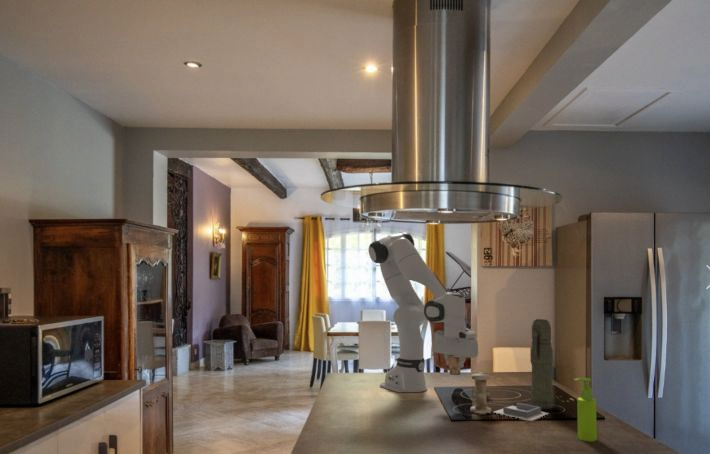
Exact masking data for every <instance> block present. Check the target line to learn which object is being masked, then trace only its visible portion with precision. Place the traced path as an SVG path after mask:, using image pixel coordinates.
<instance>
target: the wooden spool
mask: <svg viewBox="0 0 710 454" xmlns="http://www.w3.org/2000/svg"><path fill="white" fill-rule="evenodd" d="M471 379H472V380H474V405H473V406H470V409H469V410H470V412H471V413H472V412H474V413H473V414H476V413H479V414H478V415H487V414H486V413H489V414H491V413H492V408H491V407H489V406H487V396H486V390H487V381H488V380H490V379H491V377H490V375H489V374H487V373H485V374H477V373H472V374H471Z"/></svg>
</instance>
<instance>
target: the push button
mask: <svg viewBox="0 0 710 454" xmlns="http://www.w3.org/2000/svg"><path fill="white" fill-rule="evenodd" d="M476 374H486V372H483V371H476ZM489 394H491V393H490V392H488V390H487V389H486V397H487V396H488V397H489V396H491V395H489Z"/></svg>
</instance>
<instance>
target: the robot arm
mask: <svg viewBox="0 0 710 454" xmlns="http://www.w3.org/2000/svg"><path fill="white" fill-rule="evenodd" d="M368 255H369V258H370V259H371V261H372V262H373V263H375V264H379V267H380V268H379V269H380V272H381V275H382V279H383V280H384V283H385V286H386V288H387V290H388V293H389V296H390V297H391V299H392V300H394V302H395V304H396V305H397V306H398V308H396V310H395V311H394V313H393V322H394V324H395V325H396V330H397V335H398V343H399V356H398V358H394V361H395V362H396V364H395V365H394V367H392V368H391V369H390V370H388V371H387V372H386V373H385V378H384V382H382V383H380V384H379V387H381V388H383V389H387V390H389V391H393V392H396V393H420V392H425V391H427V390H428V387H427V383H426V377H425V365H426V364H425V357H424V351H425V350H424V349H425V348H424V344H425V343H424V339H423V337H422V333H421V328H420V326H422V325H424V324H425V323H426V321H428V322H430V323H443V330H439V329H438V330H436V331H434V334H433V336H434V337H433V342H432V343H433V344H432V350H433V352H434V353H436V354H441V355H442V354H443V357H444V359H445V361H446V366H449V356H460V363H458V367H460V369H461V368H464V364H465V362H466V359H467V358H468V359H469V358H470V359H474V358H475V359H476V358H477V357H478V356H479V345H478V339H476V338H477V337H478V334H477V332H475V331H473V330H471V329H469V328H468V327H467V323H466V316H467V314H466V313H467V307H466V299H465V296H464V295H463V294H462V293H460V292H456V291H455V292H454V291H448V290H447V288H446V286H444V284H443V282H442V281H441V280H440V279H439V278H438V276H437V275H436V274H435V272H434V271H433V270H432V269H431V268H430V267H429V266H428V265H427V264H426V262H425V261H424V259H423V257H422V256H421V254H420V253H419V251H418V250H417V247H415V240H414V238H413V236H412V235H411V234H410V233H409V232H406V231H405V232H403V231H402V232H399V233H395V234H394V233H393V234H390V235H387V236H385V237H383V238H379V239H378V240H374V241H372V242H371V243H370V244H369V246H368ZM411 281H412V282H416V283H417V284H420V285H422V286H425V287H426V288H427V289H428V290H429V291H430V293H431V294H432V296H433V297H434V299H431V300H428V301H427V302H425V305H424V303H423V302H422V300H421V299H420V296H419V295H418V293H417V292H416V290H415V289H414V287H413V284H412V282H411Z"/></svg>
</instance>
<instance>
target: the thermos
mask: <svg viewBox="0 0 710 454" xmlns="http://www.w3.org/2000/svg"><path fill="white" fill-rule="evenodd" d="M531 339H532V341H531V347H530V351H529V352H530V355H529V356H530V364H531V388H530V401H531V402H530V403H531V404H530V405H532V406H537V407H541V410H548V409H549V410H550V409H551V410H552V409H553V408H554V400H555V399H554V389H553V370H552V368H553V367H552V366H553V364H554V352H553V350H554V349H553V347H552V343H551V341H552V327H551V324H550V321H549V320H547V319H542V318H541V319H540V318H537V319H534V320H533V321H532V325H531Z"/></svg>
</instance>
